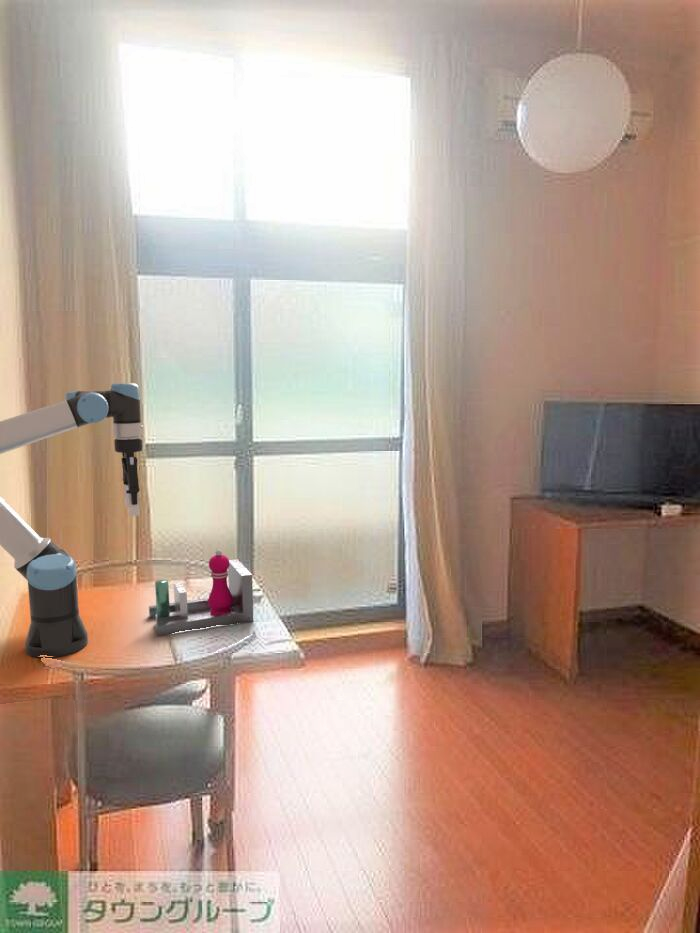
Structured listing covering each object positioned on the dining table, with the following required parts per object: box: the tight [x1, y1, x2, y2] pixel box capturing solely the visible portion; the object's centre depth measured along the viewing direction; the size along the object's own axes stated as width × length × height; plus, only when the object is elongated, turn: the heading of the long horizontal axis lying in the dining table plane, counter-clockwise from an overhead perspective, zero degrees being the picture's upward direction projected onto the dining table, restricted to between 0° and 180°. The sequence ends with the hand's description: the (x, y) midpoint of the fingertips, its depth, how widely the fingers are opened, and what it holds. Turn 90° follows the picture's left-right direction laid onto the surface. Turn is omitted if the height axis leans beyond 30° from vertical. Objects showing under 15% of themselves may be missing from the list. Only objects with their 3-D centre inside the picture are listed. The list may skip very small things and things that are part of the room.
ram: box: [154, 579, 189, 625], centre depth 193 cm, size 8×10×12 cm
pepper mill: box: [208, 549, 233, 616], centre depth 198 cm, size 7×7×20 cm
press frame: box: [148, 559, 254, 637], centre depth 196 cm, size 27×17×14 cm, turn 113°
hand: (132, 511), depth 195 cm, fingers open, 13 cm apart
